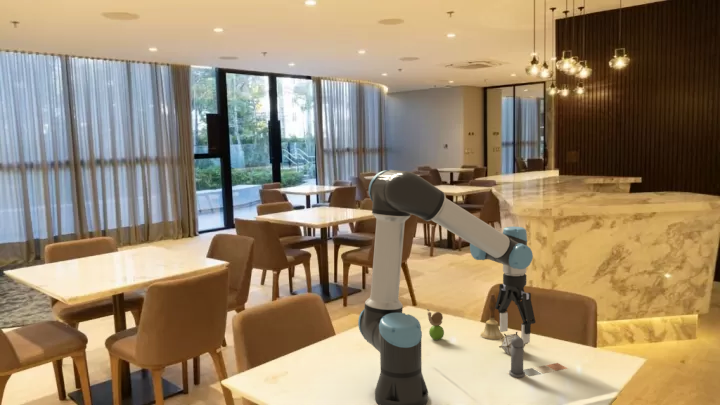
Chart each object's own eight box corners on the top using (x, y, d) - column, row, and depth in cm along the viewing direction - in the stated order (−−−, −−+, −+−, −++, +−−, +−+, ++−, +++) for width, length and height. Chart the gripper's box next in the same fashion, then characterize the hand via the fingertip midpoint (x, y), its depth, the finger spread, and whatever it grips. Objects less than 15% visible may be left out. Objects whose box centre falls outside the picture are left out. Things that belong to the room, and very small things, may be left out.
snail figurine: (424, 338, 200) (423, 307, 199) (438, 335, 203) (438, 304, 202) (432, 343, 196) (431, 311, 194) (447, 340, 198) (446, 308, 197)
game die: (518, 368, 182) (529, 351, 176) (494, 358, 183) (504, 342, 177) (521, 347, 189) (532, 331, 182) (498, 338, 190) (507, 322, 184)
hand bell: (501, 332, 205) (502, 291, 204) (504, 340, 197) (504, 297, 196) (479, 331, 207) (479, 291, 205) (481, 339, 198) (481, 297, 197)
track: (515, 384, 161) (515, 381, 161) (501, 375, 168) (501, 372, 168) (572, 372, 168) (572, 369, 168) (556, 364, 175) (556, 361, 175)
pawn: (515, 379, 162) (515, 340, 161) (506, 373, 167) (506, 335, 165) (528, 376, 164) (528, 338, 163) (518, 370, 168) (519, 333, 167)
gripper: (547, 280, 170) (546, 347, 172) (503, 265, 192) (502, 324, 194) (528, 282, 167) (527, 350, 170) (485, 267, 189) (484, 327, 192)
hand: (514, 336), depth 182 cm, fingers open, 11 cm apart
